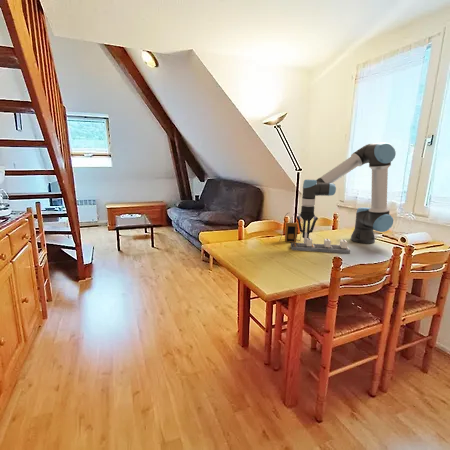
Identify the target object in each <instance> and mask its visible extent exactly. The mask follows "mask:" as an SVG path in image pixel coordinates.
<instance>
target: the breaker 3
mask: <svg viewBox="0 0 450 450" xmlns="http://www.w3.org/2000/svg"><path fill="white" fill-rule="evenodd" d="M339 245H340V247H341V248H346V249H347V247H348V241H347V240H346V239H339Z"/></svg>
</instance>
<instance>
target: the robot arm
mask: <svg viewBox="0 0 450 450" xmlns="http://www.w3.org/2000/svg"><path fill="white" fill-rule="evenodd" d="M396 152H397V151H396V148H395V147H394V145H392V144H391V143H389V142H376V143H375V142H374V143H368V144H365V145H364V146H362V147H360V148H359V149H357V150H356V151H355V152H353V153H351V155H350V157H348V158H346V159H345V160H344V161H342V162H341V163H339V164H337V166H335V167H333V168H332V169H330V170H329V171H327V172H326V173H325V174H323V175H322V176H320V177H318V178H317V179H304V180H303V184H302V197H301V198H302V199H301V211H300V213H299V214H300V215H299V214H298V215H297V216H296V217H295V218H296V220H297V222H298V223H297V224H298V227H299V228H298V230H299V231H300V232H299V233H301V232H302V233H301V238H303V243H304V244H307V238H310V234H311V233H313V232H314V228H315V225H316V222H317V221H318V219H319V218H318V217H317V216H316V215H315V206H316V205H315V204H316V196H318V197H319V196H321V197H323V196H325V197H326V196H327V197H330V196H334V195H335V194H336V191H337V187H336V184H335V182H337V181H338V180H340V178H342V177H344V176H345V175H347V174H348V173H350V172H351V171H353V170H354V169H356V168H357V167H362V166H363V165H365V164H368V167H369V168H370V169H371V206H370V207H358V208H356V209H357V210H356V212H355V214H356V215H355V224H354V230H353V231H352V233H351V235H350V240H351V241H352V242H355V243H360V244H374V243H375V242H376V236H375V233H374V231H376V232H380V233H385V232H387V231H389V230H390V229H391V228H392V227H393V225H394V218H393V216H392V215H390V208H388V176H389V175H388V174H389V172H388V171H389V170H388V169H389V168H390V167H391V166H392V162H393V160H394V159H395V157H396ZM301 217H302V219H301ZM301 220H302V221H301ZM312 220H313V221H312ZM311 221H312V224H311ZM306 224H307V226H306Z"/></svg>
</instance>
